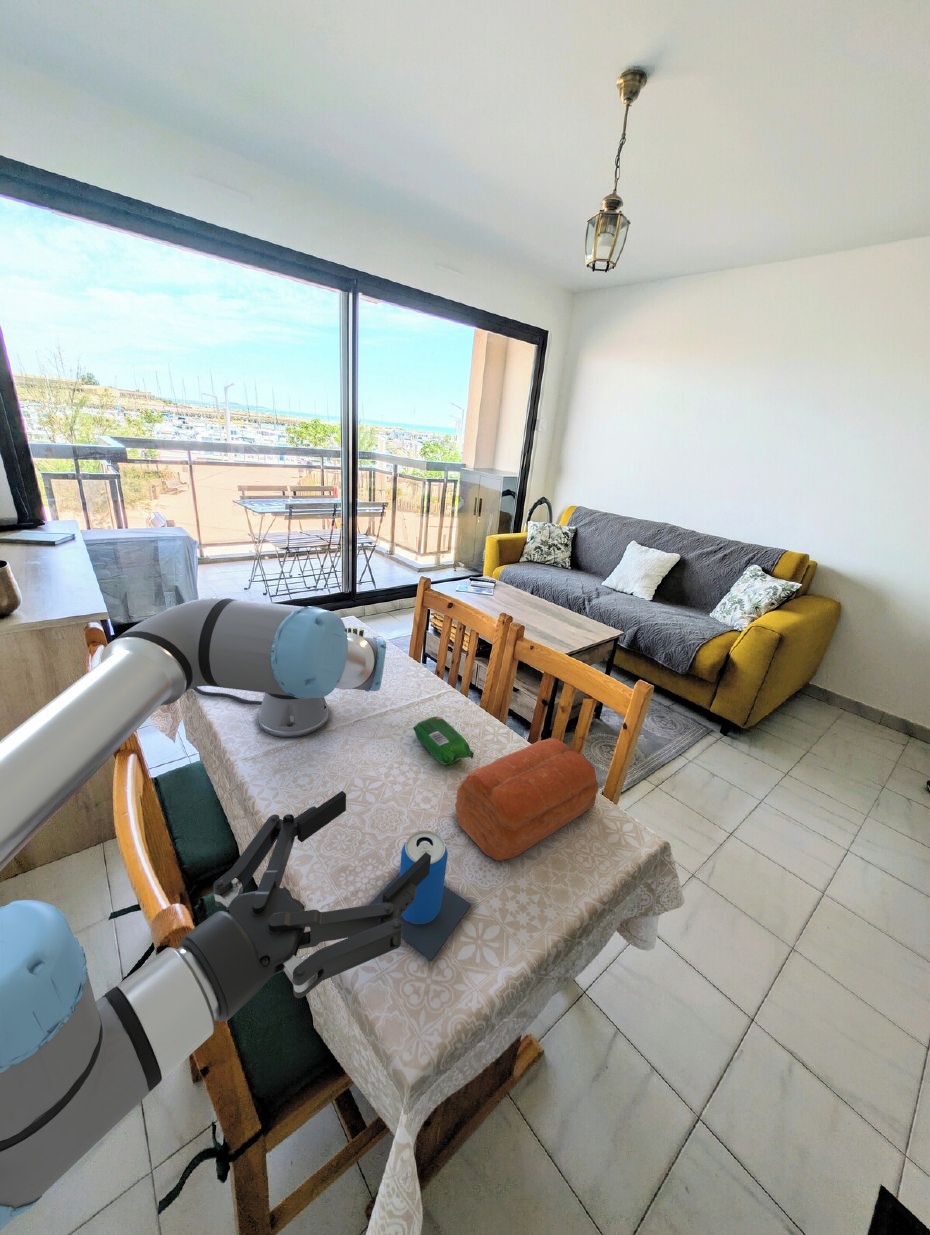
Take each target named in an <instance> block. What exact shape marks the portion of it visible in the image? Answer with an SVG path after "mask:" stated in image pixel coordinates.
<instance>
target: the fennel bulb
mask: <svg viewBox="0 0 930 1235" xmlns="http://www.w3.org/2000/svg"><path fill="white" fill-rule="evenodd" d="M345 632H346V633H353V634H357V635H359V636H362V637H364V632H365V629H362V628H359V630H358V627H353V628H352V627H345Z"/></svg>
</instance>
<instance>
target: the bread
mask: <svg viewBox="0 0 930 1235" xmlns="http://www.w3.org/2000/svg"><path fill="white" fill-rule="evenodd" d="M598 793H599V782H598V780H597V774H596V769H595V766H594V765H593V764H592V763H591V762H589V760H588V759H587V758H586V757H585V756H584V755H582V754H580V753H577V752H575V751H573V750H572V749H571V747H570V746H568V745H567V744H565V743H564V742H563V741H562V740H560V739H558V738H555V737H554V738H553V737H549V738H546V739H541V740H537V741H536V742H534V743H531V744H530V745H528V746H526V747H524V748H522V749H520V750H517V751H515V752H512V753H509V754H506V755H504V756H502V757H500V758H497V759H496V760H494V761H493V762H491V763H489V764H486V765H484V766H481V767H479V768H476V769H474V770H473V771H471V772H469V773H468V774H467V775H466V777H465V779H464V780H462V781H461V782H460V784H459V786H458V788H457V790H456V802H455V804H454V807H455V812H456V818H457V823H458V824H457V825H459V826H460V827H461V829H462V830H463V831H464V832H465V833H466V834H467V835H468V836H469V838H470V839H471V840H472V841H473V842H474V843H475V844H476V846H477V847H478V848H479V849H480V850H481V851H482V852H483V853H484V855H486V856H488V857H490V858H491V859H492V860H493V859H494V860H496V861H497V862H498V861H503V860H508V859H512V858H515V857H517V856H519V855H521V854H522V853H523V852H525V851H527V850H528V849H530V848H532V847H533V846H535V845H536V844H538V843H539V842H541V841H543V840H544V839H545V838H547V837H549V836H551V835H552V834H553V833H555V832H557V831H559V830H560V829H562V828H563V827H564V826H566V825H568V824H569V823H570V822H572V821H573V820H576V819H577V818H578V817H580V816H581V815H583V814H584V813H585V812H587V811H588V810H589V809H591V808H592V807H594V805H595V802H596V801H597V800H596V799H597V794H598Z"/></svg>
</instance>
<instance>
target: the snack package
mask: <svg viewBox="0 0 930 1235" xmlns="http://www.w3.org/2000/svg"><path fill="white" fill-rule="evenodd" d="M412 729H413V731H414V733H415V735H416V739H417V740H418V741H419V742H420V744H422V745H423V747H425V748H426V750H427V751H428V752H429V753H430V754H431V755H432V756H433V757H434V759H436V760H437V761H438V762H439V763H441V764H442V765H445V766H446V765H452V764H454V763H455V762H457V761H459V760H461V759H467V758H471V759H474V754H475V753H474V751H472V750H471V748H470V746H469V743H468V742H467V740H466V739H465V738H464V736H462V735H461V734H460V733H459V731H457V730H456V729H455V728H454V727H453V726H452V725H451V724H450V723H449V722H448V721H447V720H446V719H444V718H443V717H441V716H432V717H429V718H426V719H424V720H421V721H419V722H417V723H416V724H415V725H414V726H413V727H412Z"/></svg>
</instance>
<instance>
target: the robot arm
mask: <svg viewBox="0 0 930 1235" xmlns="http://www.w3.org/2000/svg"><path fill="white" fill-rule="evenodd" d="M345 628H346V625H345V623H344V621H343V619H342V617H340V616H339V615H338V614H337V613H336V612H334V611H330V610H327V609H323V608H321V607H318V606H299V605H291V604H290V605H289V604H283V603H282V604H281V603H271V602H263V601H254V600H245V599H235V598H230V597H218V596H216V597H215V596H213V597H204V598H199V599H194V600H190V601H187V602H183V603H180V604H177V605H175V606H171V607H170V608H166V609H165V610H162V611H160V612H158V613H156V614H154V615H152V616H150V617H148V618H146V619H144V620H141V621H140V622H138V623H137V624H135V625H133V626H132V627H130V628H129V629H127V630H126V631H125V632H123V633H121V634H120V635H119V636H117V637H116V638H115V639H113V640H112V641H110V642H109V643H108V644H107V645H106V646H105V647H104V648H103V650H102V652H101V654H100V662H99V663H98V664H97V665H96V666H94V667H93V668H92V669H90V670H88V672H86V673H85V674H83V675H82V676H81V677H80V678H78V680H76V681H75V682H74V683H72V684H70V686H68V687H67V688H66V689H65V690H64V691H62V692H61V693H60V694H58V695H57V696H55V698H53V699H52V700H51V701H49V702H48V703H47V704H46V705H44V706H43V707H42V708H40V709H38V711H37V712H35V713H34V714H32V715H31V716H30V717H29V718H28V719H26V720H25V721H23V722H22V723H21V724H19V725H18V726H17V727H16V728H15V729H13V730H12V731H11V732H9V733H8V734H7V735H5V737H3V738H2V739H1V740H0V872H1V871H2V870H4V868H6V866H7V865H8V864H9V863H10V862H11V861H12V860H13V859H14V858H15V857H16V856H17V855H18V854H19V853H20V851H21V850H23V849H24V847H25V846H27V844H29V842H31V840H32V839H33V838H34V837H35V836H36V835H37V834H38V832H40V831H41V830H42V829H43V828H44V826H46V825H47V823H49V822H50V821H51V820H52V818H53V817H55V815H56V814H57V813H58V812H59V811H60V810H61V809H62V808H63V807H64V806H65V805H66V804H67V803H68V802H69V801H70V800H71V799H72V797H73V796H74V795H75V794H76V793H77V792H79V791H80V789H81V788H83V786H84V785H85V784H86V783H87V782H88V781H89V780H90V779H91V778H92V777H93V776H94V775H95V774H96V773H97V772H98V771H99V769H101V767H103V765H105V763H106V762H107V761H109V759H111V757H112V756H113V755H114V754H115V753H116V752H117V751H118V750H119V749H120V748H121V747H122V746H123V745H124V744H125V742H127V740H129V738H130V737H131V736H132V735H134V734H135V732H136V731H137V730H138V729H139V728H140V727H141V726H142V725H143V724H144V723H145V722H146V721H147V720H148V718H150V717H151V716H152V715H153V714H154V712H155V711H156V710H157V709H158V708H160V706H161V707H162V706H168V705H171V704H173V703H176V702H177V701H178V700H180V698H181V697H182V696H183V695H184V694H185V693H186V692H187V691H189V690H193V691H194V692H195V693H197V694H199V695H201V696H207V697H217V698H219V697H221V698H226V699H227V698H228V699H231V700H234V701H236V702H239V703H241V704H246V705H255V706H260V707H259V708H258V709H259V710H258V713H257V714H258V715H257V720H258V726H259V728H260V729H261V730H262V731H263V732H264V733H267V734H268V735H271V736H274V737H279V738H297V737H301V736H306V735H309V734H312V733H314V732H316V731H318V730H320V728H322V727H323V726H324V725H325V724H326V722H327V721H328V719H329V707H328V704H327V702H326V698H325V697H327V696H328V695H331V694H332V692H334V690H335V689H339V690H357V691H365V692H366V693H368V692H377V691H379V690H380V689H381V686H382V680H383V675H384V670H385V669H384V668H385V661H386V660H385V659H386V652H387V642H386V640H384V639H382V638H377V637H376V636H373V637H369V636H363V637H362V636H359V634H358V633H357V634H353V632H352V633H348V632H347V633H346V632H345ZM199 687H214V688H221V689H222V688H223V689H230V690H240V691H247V692H255V693H256V692H257V693H264V695H263V698H262V700H250V699H246V698H242V697H239V696H236V695H234V694H230V693H224V692H214V691H212V692H211V691H206V690H202V689H200V688H199ZM346 811H347V793H346V792H345V791H343V790H341V791H339V792H338V793H337V794H335V795H334V796H331V797H330V798H329V799H328V800H326V801H325V802H323V803H321V804H320V805H319V806H318V807H316V806H315V805H314V806H310V807H309V808H307V809H306V810H303V811H302V812H301V813H299V814H298V815H297V816H294V815H293V813H287V814H285V815H284V816H283V817H282V818H281V817H280V815H279V814H272V815H270V816H269V817H268V818H267V819H266V821H265V822H264V824H263V825H262V826H261V827H260V828H259V830H258V831H257V833H256V834H255V835H254V836H253V839H252V840H251V841H250V843H249V844H248V845H247V847H246V848H245V849H244V850H243V852H242V854H241V855H240V856H239V858H237V860H236V861H235V863H234V864H233V866H232V867H231V868H230V869H229V870H227V871H226V872H225V873H224V874H223V875H221V876H220V877H219V878H217V879H216V880H215V881H214V882H213V884H212V889H213V897H214V905H215V906H216V907H218V908H223V907H226V909H225V910H219V911H216V912H214V913H213V914H212V915H210V916H209V917H207V918H206V919H205V920H204V921H202V922H200V923H199V924H198V925H196V926H195V927H194V928H192V929H191V930H190V931H188V932H187V933H186V934H184V935H183V936H182V937H181V939H180V941H179V942H178V943H179V944H178V948H175V947H166V948H164V949H163V950H162V951H160V952H159V953H158V954H156V955H155V956H154V957H152V958H151V959H150V960H148V961H147V962H146V963H144V964H143V965H142V966H141V967H139V968H138V969H136V970H135V971H134V972H133V973H131V974H130V975H129V976H127V977H126V978H124V980H121V982H119V983H118V984H117V985H115V986H114V987H112V988H111V989H109V990H108V991H107V992H106V993H104V995H102V996H101V997H100V998H98V999H97V1000H96V998H95V995H94V991H93V988H92V983H91V979H90V977H89V972H88V970H89V969H88V967H87V963H88V962H87V956H86V953H85V952H84V951H85V950H84V947H83V945H80V941H79V938H78V937H75V936H74V934H73V931H72V929H71V926H70V924H69V921H68V919H67V917H66V915H65V914H64V913H63V912H62V911H61V910H60V909H59V908H58V907H56V906H54V905H53V904H50V903H47V902H45V901H43V900H42V901H41V900H35V899H21V900H13V901H11V902H10V903H8V904H7V905H3V906H2V905H1V906H0V1232H1V1231H2V1230H4V1229H5V1228H6V1226H8V1225H9V1224H10V1223H11V1222H12V1221H13V1220H15V1219H16V1218H17V1217H18V1216H19V1215H22V1214H24V1213H25V1212H27V1211H28V1210H30V1209H31V1208H32V1207H33V1206H34V1205H35V1204H36V1203H37V1202H39V1200H40V1199H41V1198H42V1197H43V1195H44V1194H45V1193H46V1192H47V1191H48V1190H49V1189H51V1188H52V1186H53V1185H54V1184H55V1183H57V1182H58V1181H59V1180H60V1179H61V1178H63V1176H64V1175H65V1174H66V1173H67V1172H68V1171H69V1170H71V1168H72V1167H73V1166H75V1165H76V1164H77V1163H78V1162H79V1161H80V1160H81V1159H82V1158H83V1157H84V1156H85V1155H87V1153H88V1152H90V1150H91V1149H93V1147H94V1146H96V1144H98V1143H99V1142H100V1141H101V1140H102V1139H103V1138H104V1137H105V1136H106V1135H107V1134H108V1133H109V1132H111V1130H113V1128H114V1127H115V1126H116V1125H118V1124H119V1123H120V1122H121V1121H122V1120H123V1119H124V1118H125V1117H126V1116H127V1115H128V1114H129V1113H130V1112H131V1111H132V1110H133V1109H134V1108H135V1107H137V1105H139V1104H140V1103H141V1102H142V1101H143V1100H144V1099H145V1098H146V1097H147V1096H149V1093H151V1092H152V1091H153V1090H154V1089H155V1088H156V1087H157V1086H158V1085H159V1084H160V1083H162V1082H163V1081H164V1080H165V1079H166V1078H167V1077H168V1076H169V1075H170V1074H171V1073H173V1071H175V1070H176V1069H177V1068H178V1067H179V1066H180V1065H181V1064H182V1063H183V1062H185V1060H187V1059H188V1058H189V1057H190V1056H191V1055H192V1054H193V1053H194V1052H195V1051H196V1050H197V1049H198V1048H200V1047H201V1045H203V1044H204V1043H205V1042H206V1041H208V1039H209V1038H210V1037H212V1036H213V1034H214V1032H215V1027H216V1022H218V1023H223V1022H228V1021H229V1020H230V1019H231V1018H232V1017H234V1016H235V1014H236V1013H237V1012H238V1011H240V1010H241V1009H242V1008H243V1007H244V1006H245V1005H246V1004H248V1003H249V1001H250V1000H251V999H253V998H254V997H255V996H256V995H257V994H258V993H259V992H260V991H261V990H262V989H263V987H265V985H266V984H267V983H268V981H269V980H270V979H271V978H272V977H274V976H276V975H277V974H279V973H282V972H284V973H285V974H286V976H287V978H288V980H289V981H290V982H291V984H292V990H293V991H292V992H293V995H294V997H295V998H296V999H302V998H303V997H305V996H307V995H308V994H309V993H310V992H312V990H314V989H315V988H316V987H317V986H318V985H319V984H321V983H322V982H323V981H325V980H327V979H330V978H332V977H334V976H337V975H339V974H341V973H344V972H347V971H349V970H351V969H353V968H355V967H358V966H360V965H362V964H365V963H368V962H369V961H371V960H373V959H376V958H378V957H381V956H383V955H386V954H388V953H389V952H393V951H395V950H397V949H398V948H400V947H401V945H402V940H403V939H402V930H403V923H402V921H401V920H399V919H398V918H399V917H400V915H401V914H402V913H403V912H404V911H405V910H406V909H407V908H408V907H409V906H410V905H411V904H412V903H413V902H414V900H415V897H416V889H417V886H418V885H419V884H420V883H421V882H422V881H423V880H424V879H425V878H426V877H427V876H428V875H429V871H430V862H431V855H429V854H428V853H427V852H425V853H424V854H423V855H422V856H421V857H420V858H419V859H418V860H417V861H416V862H415V863H414V864H413V865H412V866H411V867H410V868H409V869H408V870H407V871H406V872H405V873H404V874H403V875H402V876H401V877H400V878H399V879H398V880H397V881H396V882H395V883H394V884H393V885H392V886H391V887H389V888H388V889H387V890H386V891H385V892H384V893H383V900H382V903H379V904H373V905H369V904H366V905H360V906H353V907H346V908H339V909H333V910H326V911H320V910H318V909H307V910H305V909H306V908H305V905H304V904H303V903H302V902H301V901H300V900H299V899H296V898H295V897H293V896H292V894H291V892H290V890H289V889H288V888H287V887H286V886H283V887H281V885H282V881H283V877H284V874H285V872H286V869H287V865H288V862H289V858H290V856H291V852H292V849H293V847H294V843H295V840H296V839H297V840H298V841H299V842H300V843H303V842H305V841H307V840H308V839H309V838H310V837H312V836H313V835H314V834H316V833H317V832H318V831H320V830H321V829H323V828H324V827H326V826H327V825H328V824H329V823H331V822H332V821H334V820H335V819H337V818H338V817H339V816H341V815H342V814H344V813H345V812H346ZM296 837H297V838H296ZM273 846H274V847H273ZM272 848H273V850H272V852H271V856H270V859H269V860H268V864H267V867H266V869H265V870H264V871H263V873H262V876H261V879H260V881H259V884H258V887H257V889H256V890H255V891H250V892H249V891H248V892H244V889H245V887H246V886H247V885H248V883H249V882H250V881H251V879H252V877H253V876H254V874H255V873H256V871H257V870H258V869H259V867H260V865H261V864H262V862H263V861H264V860H265V858H266V857H267V855H268V854H269V852H270V851H271V849H272ZM243 892H244V893H243ZM306 928H309V931H308V930H307V931H306ZM335 940H339V941H337V942H333V943H332V944H329V945H327V946H324V947H323V948H320V949H319V950H317V951H315V952H313V953H312V954H310V953H309V952H306V953H305V952H304V954H303V955H302V956H298V957H297V955H298V951H299V950H304V949H309V948H314V947H317V946H319V945H320V944H321V943H323V942H329V941H335Z"/></svg>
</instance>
